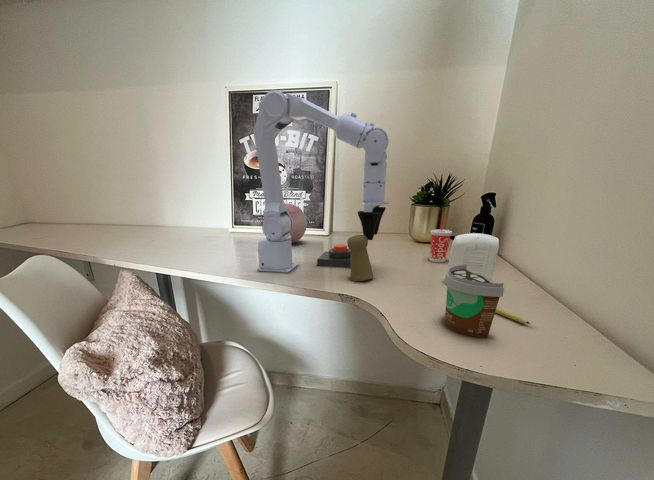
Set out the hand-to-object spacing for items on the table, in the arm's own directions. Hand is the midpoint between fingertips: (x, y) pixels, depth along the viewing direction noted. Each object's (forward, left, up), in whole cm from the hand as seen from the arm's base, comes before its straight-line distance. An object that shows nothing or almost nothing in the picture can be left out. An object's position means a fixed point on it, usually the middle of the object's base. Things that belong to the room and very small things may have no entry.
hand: (370, 236), depth 90 cm
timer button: (-10, +8, -6) cm, 14 cm away
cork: (-1, -7, -10) cm, 12 cm away
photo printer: (+25, -5, -10) cm, 27 cm away
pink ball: (-36, +33, -10) cm, 50 cm away
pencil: (+28, -23, -10) cm, 37 cm away
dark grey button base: (-10, +8, -10) cm, 16 cm away
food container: (+20, -31, -10) cm, 38 cm away
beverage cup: (+19, +17, -10) cm, 28 cm away
